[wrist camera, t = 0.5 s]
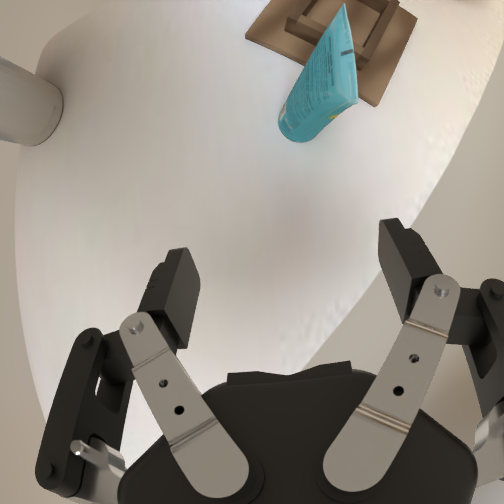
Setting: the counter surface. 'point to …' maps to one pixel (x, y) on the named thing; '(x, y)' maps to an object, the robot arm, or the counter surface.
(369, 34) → the socket board
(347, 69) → the tube
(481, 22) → the counter surface
